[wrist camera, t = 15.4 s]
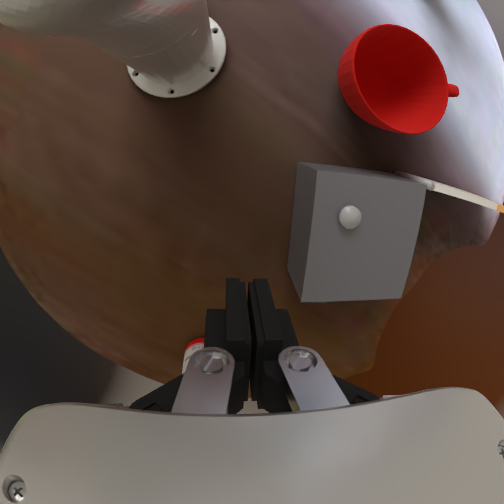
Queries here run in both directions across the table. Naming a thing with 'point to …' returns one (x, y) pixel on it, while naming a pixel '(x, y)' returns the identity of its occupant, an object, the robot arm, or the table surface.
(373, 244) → the block
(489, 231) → the table surface
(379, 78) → the ceramic cup
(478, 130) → the table surface
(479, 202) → the side door
